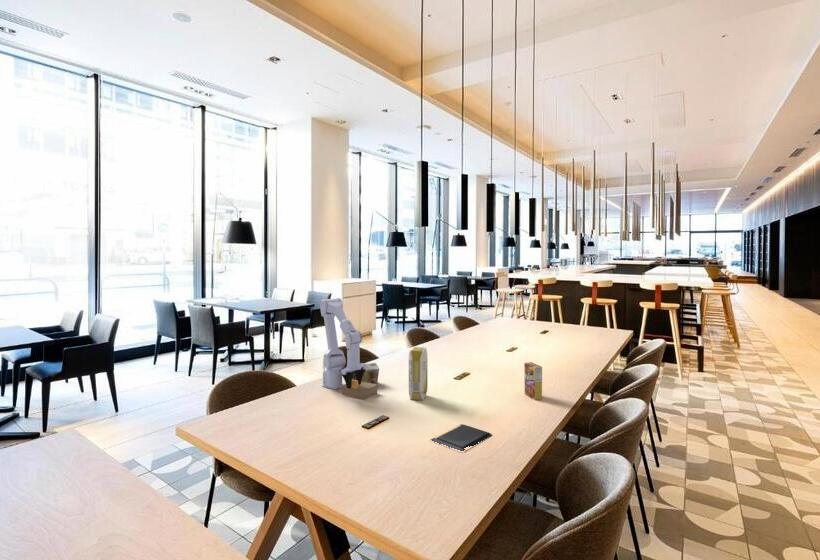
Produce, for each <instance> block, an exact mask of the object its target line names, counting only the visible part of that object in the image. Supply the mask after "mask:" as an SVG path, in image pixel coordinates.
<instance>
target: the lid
mask: <svg viewBox="0 0 820 560" xmlns="http://www.w3.org/2000/svg"><path fill="white" fill-rule="evenodd" d="M344 384H345V385H342V387H345V388H347V386H346V383H344ZM376 386H377V387H378V384H377V383H375V384H371V383H366V382H362V381H361V384H360V385H359V384H358V380H353V379H352V386H351V388H349V389H354V390H358V391H362V392H364V391H367V390H369V389H371V388H374V387H376ZM342 387H341V388H342Z"/></svg>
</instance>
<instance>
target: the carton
mask: <svg viewBox="0 0 820 560" xmlns="http://www.w3.org/2000/svg"><path fill="white" fill-rule="evenodd" d="M341 389H342V394H341V395H345V396H348V397H354V398H357V399H361V400H365V399H367V398H369V397H372V396H374V395H377V394H378V386H376V387H374V388H371V389H369V390H367V391H364V392H362V391H358V390H354V389H349V388H345V387H341Z"/></svg>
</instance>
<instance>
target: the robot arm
mask: <svg viewBox="0 0 820 560" xmlns="http://www.w3.org/2000/svg"><path fill="white" fill-rule="evenodd" d="M343 304H344V303H343V301H342V298H339V297H337V298H329V299H328V298H326V299H325V298H324V299H322V300H321V301H320V304H319V308H320V314H321V315H320V316H321V317H323V320H324V327H325V328H324V329H325V335H326V344H327V349H328V350H326V352H325V353H324V354H323V367H324V369H323V371H322V385H321V387H324V388H329V389H331V390H337V389H341V388H342V385H345V384H346V386H347V388H351V386H352V377H353V374H351V373H350V372H352V371H355V375H356V380H358V384H359V385H360V384H361V381H362V377H363V375H364V373H365V369H363V368H365V362H364V363H363V362H362V363H361V361H360V359H361V357H360V354H361V353H360V344H361V343H362V341H363V336H362V333H361V331H359V330H358V329H356V328H355V327H354V324H353V323H352V321H351V320H350V319H347V316H346V314H345V312H344V305H343ZM335 318H336V319H337V320H338V321H339V323H340V324H339V328H340V329H341V332H342V334H343V336H344V342H345V347H346V349H347V350H346V353H347V355H346V356H347V358H346V357H345V355H344V351H343V350H341V349H340V348H339V344H338V343H339V342H338V336H337V330H336V322H335ZM346 359H347V361H346ZM346 362H347V363H346ZM346 365H347V367H346ZM343 380H344V382H345V383H343Z"/></svg>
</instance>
